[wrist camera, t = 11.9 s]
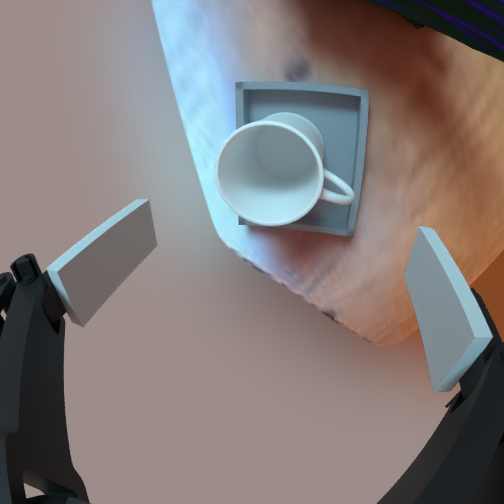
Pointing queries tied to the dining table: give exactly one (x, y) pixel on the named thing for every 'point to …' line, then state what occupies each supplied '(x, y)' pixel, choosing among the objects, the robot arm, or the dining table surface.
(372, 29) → the dining table surface
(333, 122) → the slate tray
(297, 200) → the mug
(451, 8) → the decorative plant
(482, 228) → the dining table surface
